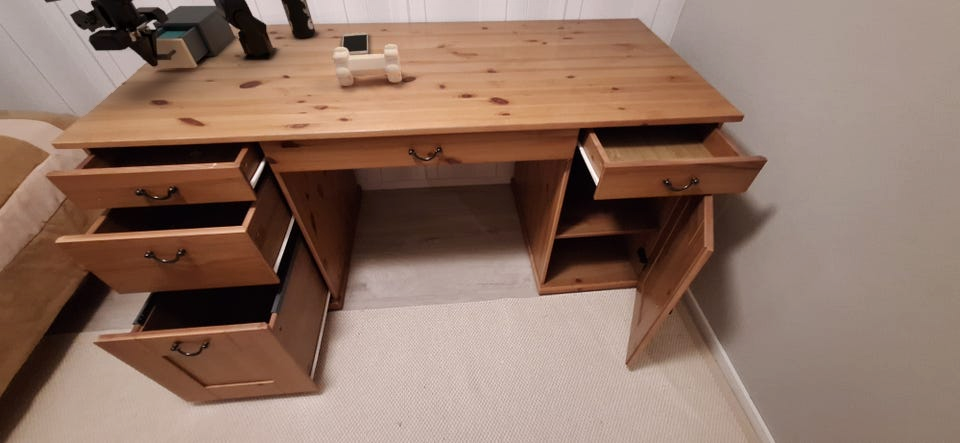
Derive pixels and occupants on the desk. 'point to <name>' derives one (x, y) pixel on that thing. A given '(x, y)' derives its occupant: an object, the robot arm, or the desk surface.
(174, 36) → the block
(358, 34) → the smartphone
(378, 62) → the bone shaped toy
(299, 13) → the beverage can
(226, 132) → the desk surface
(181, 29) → the drawer
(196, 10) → the cabinet
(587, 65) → the desk surface
